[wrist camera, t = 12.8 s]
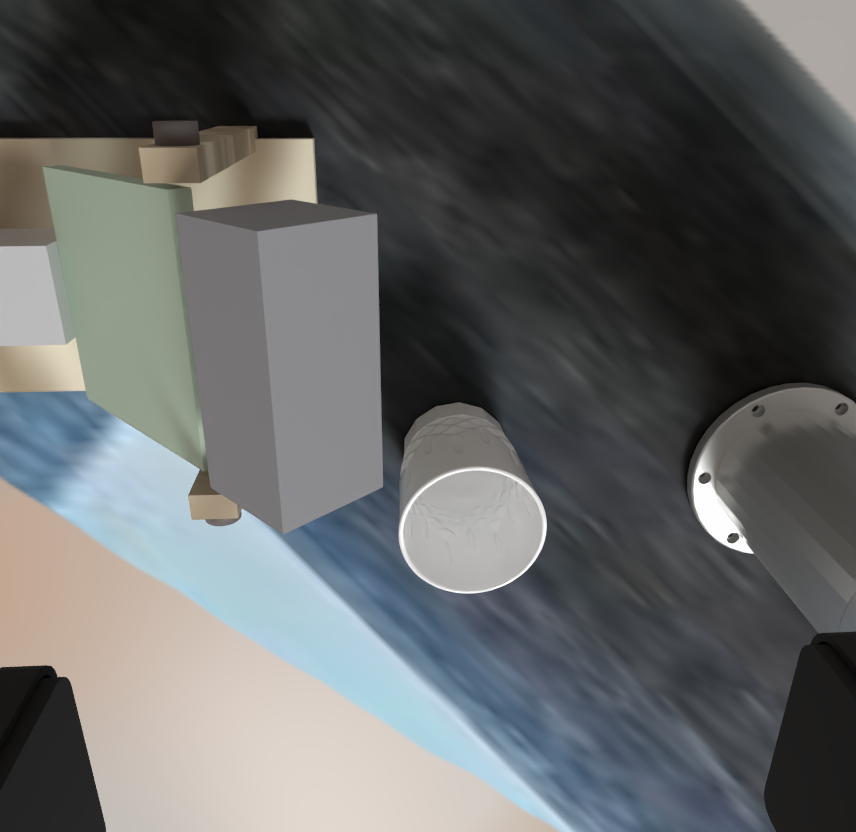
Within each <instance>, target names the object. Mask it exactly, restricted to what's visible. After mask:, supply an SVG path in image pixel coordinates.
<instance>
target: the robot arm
mask: <svg viewBox="0 0 856 832" xmlns="http://www.w3.org/2000/svg"><path fill="white" fill-rule="evenodd" d="M687 493H688V498H689V502H690V506H691V508H692V510H693V512H694V514H695V516H696V518H697V520H698V521H699V522H700V524H701V525H702V526H703V528H704V529H705V530H706V531H707V532H708V533H709V534H710V535H711V536H712V537H713V538H714V539H715V540H716V541H718V542H719V543H721V544H723V545H724V546H726V547H728V548H731V549H734V550H737V551H740V552H743V553H750V554H755V555H756V556H757V558H758V559H759V560H760V561H761V563H762V564H763V565H764V566H765V568H766V569H767V570H768V571H769V572H770V574H771V575H772V576H773V577H774V579H775V580H776V581H777V582H778V584H779V585H780V586H781V587H782V589H783V590H784V591H785V592H786V593H787V595H788V596H789V597H790V598H791V600H792V601H793V602H794V603H795V605H796V606H797V607H798V608H799V609H800V611H801V612H802V613H803V614H804V616H805V617H806V618H807V619H808V621H809V622H810V623H811V624H812V625H813V627H814V628H815V629H816V630H817V632H818V633H819V634H817V635H816V636H815V637H814V638H813V640H812V642H811V644H810V645H805V646H804V647H803V648H802V650H801V652H800V655H799V659H798V663H797V667H796V670H795V674H794V678H793V682H792V686H791V690H790V693H789V697H788V701H787V705H786V709H785V713H784V716H783V720H782V724H781V728H780V732H779V736H778V739H777V743H776V747H775V751H774V755H773V759H772V762H771V766H770V770H769V774H768V778H767V781H766V785H765V791H764V799H765V805H766V809H767V813H768V816H769V818H770V820H771V822H772V824H773V826H774V828H775V830H776V832H856V403H855V402H853V401H852V400H851V399H849V398H848V397H846V396H844V395H843V394H841V393H840V392H838V391H835V390H833V389H830V388H828V387H825V386H822V385H816V384H810V383H787V384H782V385H777V386H772V387H769V388H766V389H763V390H761V391H758V392H755V393H753V394H751V395H749V396H747V397H745V398H744V399H742V400H740V401H738V402H737V403H735V404H734V405H732V406H731V407H730V408H729V409H727V410H726V411H725V412H724V413H722V414H721V415H720V416H719V417H718V418H717V419H716V420H715V421H714V422H713V424H712V425H711V426H710V427H709V428H708V429H707V430H706V432H705V433H704V435H703V437H702V438H701V440H700V441H699V443H698V444H697V446H696V449H695V451H694V453H693V456H692V458H691V461H690V465H689V470H688V475H687ZM0 832H106V827H105V822H104V818H103V814H102V809H101V806H100V801H99V797H98V794H97V789H96V785H95V781H94V776H93V772H92V768H91V765H90V760H89V756H88V752H87V748H86V744H85V740H84V736H83V731H82V727H81V723H80V719H79V715H78V711H77V707H76V703H75V699H74V694H73V690H72V687H71V683H70V681H69V679H68V678H66V677H57V674H56V672H55V670H54V669H53V668H52V666H23V667H2V668H0Z"/></svg>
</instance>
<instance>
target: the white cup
mask: <svg viewBox="0 0 856 832" xmlns="http://www.w3.org/2000/svg"><path fill="white" fill-rule="evenodd" d="M546 530H547V521H546V514H545V510H544V507H543V505H542V502H541V500H540V498H539V496H538V494H537V492H536V491H535V489H534V487H533V485H532V483H531V481H530V479H529V477H528V474H527V472H526V470H525V468H524V466H523V464H522V462H521V460H520V458H519V457H518V455H517V453H516V451H515V450H514V448H513V446H512V444H511V443H510V442H509V440H508V439H507V438H506V436H505V434H504V432H503V430H502V428H501V426H500V424H499V422H498V421H497V420H495V419H494V418H493V417H492V416H491V415H489V414H488V413H487V412H486V411H485V410H484V409H482V408H480V407H476V406H472V405H468V404H464V403H460V402H458V403H452V404H446V405H440V406H435V407H434V408H432V409H431V410H429V411H428V412H426V413H425V414H423V415H422V416H420V417H419V418H417V419H416V420H415V422H414V424H413V425H412V427H411V429H410V430H409V432H408V433H407V435H406V437H405V439H404V455H403V462H402V465H401V476H400V500H399V544H400V548H401V551H402V554H403V556H404V558H405V560H406V562H407V564H408V565H409V566H410V568H411V569H412V570H413V571H414V572H415V573H416V574H417V575H418V576H419V577H420V578H421V579H423V580H424V581H426V582H427V583H429V584H431V585H433V586H435V587H437V588H440V589H443V590H446V591H450V592H456V593H480V592H486V591H490V590H493V589H496V588H499V587H502V586H504V585H506V584H508V583H510V582H512V581H513V580H515V579H516V578H518V577H519V576H520V575H522V574H523V573H524V572H525V571H526V570H527V569H528V568H529V567H530V566H531V565H532V564H533V562H534V561H535V560H536V558H537V557H538V555H539V553H540V551H541V549H542V547H543V544H544V541H545V537H546Z"/></svg>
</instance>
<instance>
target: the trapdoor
mask: <svg viewBox="0 0 856 832" xmlns="http://www.w3.org/2000/svg"><path fill="white" fill-rule="evenodd" d="M42 168H43V173H44V178H45V183H46V188H47V193H48V199H49V204H50V209H51V214H52V219H53V224H54V229H55V235H56V240H57V245H58V250H59V255H60V260H61V266H62V271H63V276H64V281H65V286H66V291H67V297H68V302H69V307H70V312H71V317H72V322H73V328H74V333H75V338H76V343H77V348H78V353H79V359H80V364H81V369H82V374H83V379H84V384H85V390H86V395H87V399H89V400H91V401H92V402H94V403H95V404H97V405H99V406H100V407H102V408H103V409H105V410H107V411H108V412H110V413H111V414H113V415H114V416H116V417H118V418H119V419H121V420H122V421H124V422H126V423H127V424H129V425H130V426H132V427H134V428H135V429H137V430H138V431H140V432H142V433H143V434H145V435H146V436H148V437H150V438H151V439H153V440H154V441H156V442H158V443H159V444H161V445H162V446H164V447H166V448H167V449H169V450H170V451H172V452H174V453H175V454H177V455H178V456H180V457H182V458H183V459H185V460H186V461H188V462H189V463H191V464H193V465H194V466H196V467H197V468H199V469H201V470H202V471H204V472H205V471H207V470H208V471H209V479H210V487H211V488H212V489H213V490H215V491H217V492H218V493H220V494H221V495H223V496H224V497H226V498H227V499H229V500H231V501H232V502H234V503H235V504H237V505H238V506H240V507H241V508H243V509H244V510H246V511H248V512H249V513H251V514H252V515H254V516H255V517H257V518H258V519H260V520H261V521H263V522H265V523H266V524H268V525H269V526H271V527H272V528H274V529H275V530H277V531H279V532H280V533H282V534H285V533H287V532H290V531H292V530H294V529H296V528H298V527H300V526H302V525H304V524H306V523H309V522H311V521H313V520H315V519H317V518H319V517H321V516H323V515H325V514H327V513H330V512H332V511H334V510H336V509H338V508H340V507H342V506H344V505H346V504H348V503H351V502H353V501H355V500H357V499H359V498H361V497H363V496H365V495H367V494H369V493H372V492H374V491H376V490H378V489H380V488H382V487H383V462H382V417H381V372H380V327H379V282H378V237H377V214H376V213H370V212H364V211H358V210H352V209H346V208H340V207H334V206H328V205H322V204H316V203H310V202H304V201H298V200H292V199H291V200H282V201H274V202H266V203H257V204H249V205H240V206H232V207H224V208H215V209H207V210H199V211H194V207H193V199H192V190H191V187H185V186H179V185H174V184H168V183H144V182H143V179H140V178H134V177H128V176H122V175H117V174H111V173H105V172H100V171H94V170H88V169H83V168H77V167H71V166H66V165H58V166H43V167H42Z"/></svg>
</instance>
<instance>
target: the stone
mask: <svg viewBox="0 0 856 832" xmlns="http://www.w3.org/2000/svg"><path fill="white" fill-rule="evenodd" d="M74 338H75V333H74V328H73V322H72V317H71V312H70V307H69V302H68V297H67V291H66V286H65V281H64V276H63V271H62V266H61V260H60V255H59V250H58V245H57V240H56V235H55V229H54V228H14V229H0V346H34V345H67V344H68V343H69V342H70V341H71V340H72V339H74Z"/></svg>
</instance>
